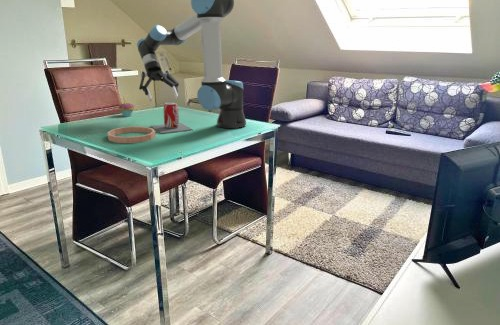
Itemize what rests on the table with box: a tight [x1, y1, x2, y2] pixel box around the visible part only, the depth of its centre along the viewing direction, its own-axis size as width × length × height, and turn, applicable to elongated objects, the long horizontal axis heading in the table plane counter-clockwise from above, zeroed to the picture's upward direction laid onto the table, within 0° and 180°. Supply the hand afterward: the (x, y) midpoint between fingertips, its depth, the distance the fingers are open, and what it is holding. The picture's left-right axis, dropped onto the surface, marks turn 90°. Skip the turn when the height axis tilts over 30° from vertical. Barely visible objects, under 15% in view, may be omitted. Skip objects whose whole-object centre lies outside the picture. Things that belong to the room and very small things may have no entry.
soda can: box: [163, 101, 180, 129], centre depth 186 cm, size 7×7×12 cm
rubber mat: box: [149, 122, 193, 135], centre depth 187 cm, size 16×16×1 cm
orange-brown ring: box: [107, 125, 156, 144], centre depth 170 cm, size 20×20×2 cm
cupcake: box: [118, 94, 135, 118], centre depth 213 cm, size 9×8×12 cm
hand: (164, 98), depth 188 cm, fingers open, 13 cm apart
